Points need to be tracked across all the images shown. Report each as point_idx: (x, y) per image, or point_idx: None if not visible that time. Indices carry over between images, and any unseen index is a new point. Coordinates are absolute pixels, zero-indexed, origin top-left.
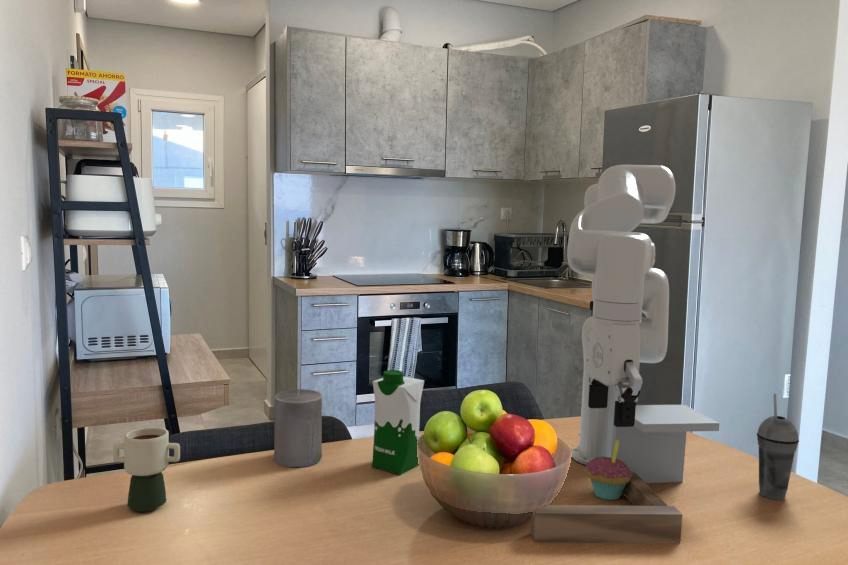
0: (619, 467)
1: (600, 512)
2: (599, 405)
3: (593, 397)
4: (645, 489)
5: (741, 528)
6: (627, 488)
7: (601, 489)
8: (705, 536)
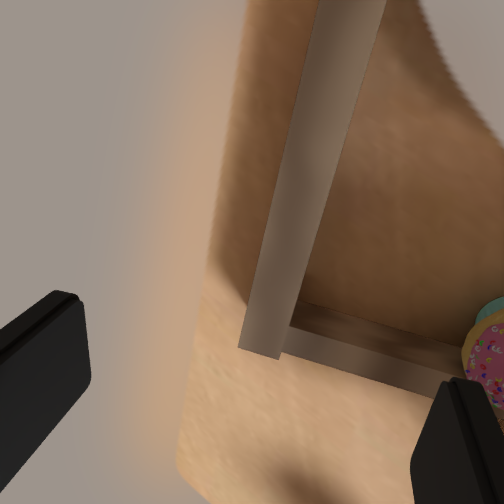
0: (496, 381)
1: (285, 178)
2: (426, 439)
3: (455, 457)
4: (407, 376)
5: (277, 434)
6: None
7: (501, 306)
8: (264, 366)
